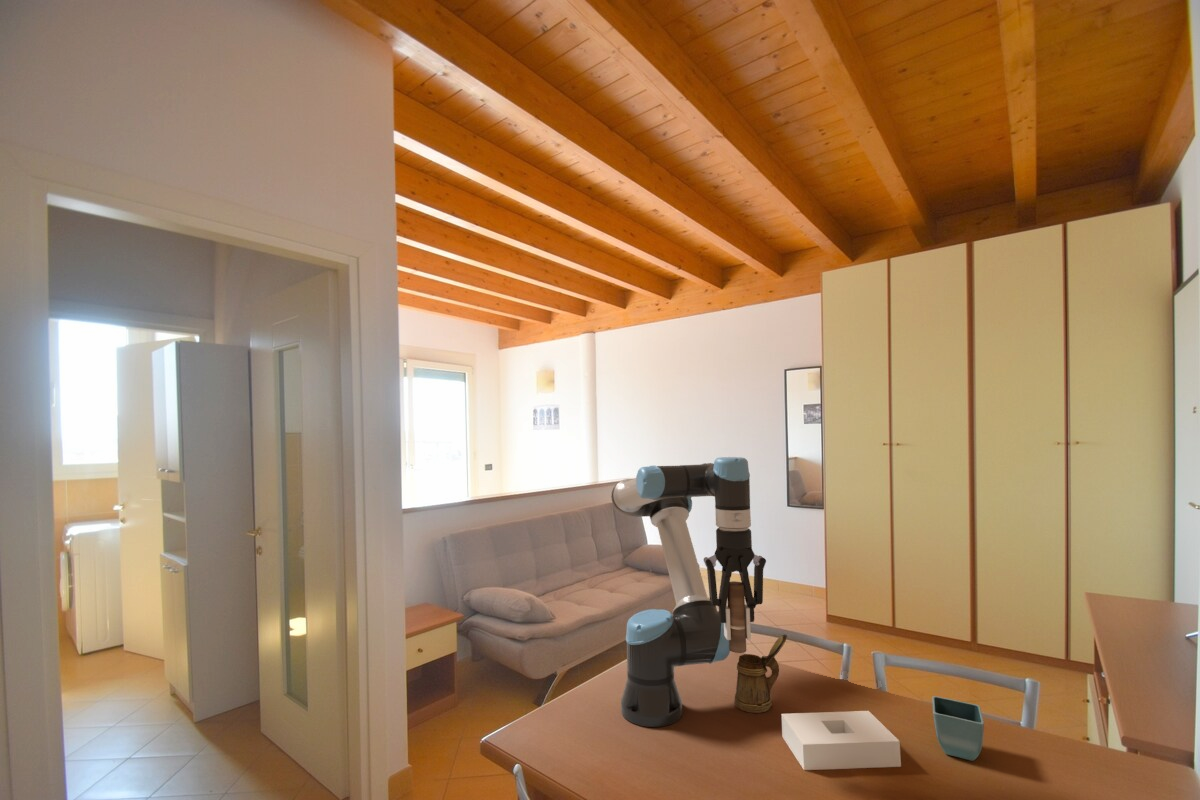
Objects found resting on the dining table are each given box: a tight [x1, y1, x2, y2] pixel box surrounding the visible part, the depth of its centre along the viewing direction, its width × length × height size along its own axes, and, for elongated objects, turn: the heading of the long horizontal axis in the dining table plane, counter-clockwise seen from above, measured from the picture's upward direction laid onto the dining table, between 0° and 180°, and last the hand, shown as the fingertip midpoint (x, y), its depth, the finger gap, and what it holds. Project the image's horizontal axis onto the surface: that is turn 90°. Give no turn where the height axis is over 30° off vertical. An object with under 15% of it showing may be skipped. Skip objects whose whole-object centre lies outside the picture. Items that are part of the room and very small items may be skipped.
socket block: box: [780, 710, 902, 771], centre depth 114 cm, size 12×20×5 cm, turn 92°
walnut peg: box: [727, 581, 747, 654], centre depth 115 cm, size 4×4×14 cm
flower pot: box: [931, 695, 985, 762], centre depth 113 cm, size 9×9×9 cm
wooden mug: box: [733, 634, 788, 714], centre depth 134 cm, size 9×14×18 cm, turn 72°
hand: (737, 637), depth 115 cm, fingers closed on walnut peg, 4 cm apart
